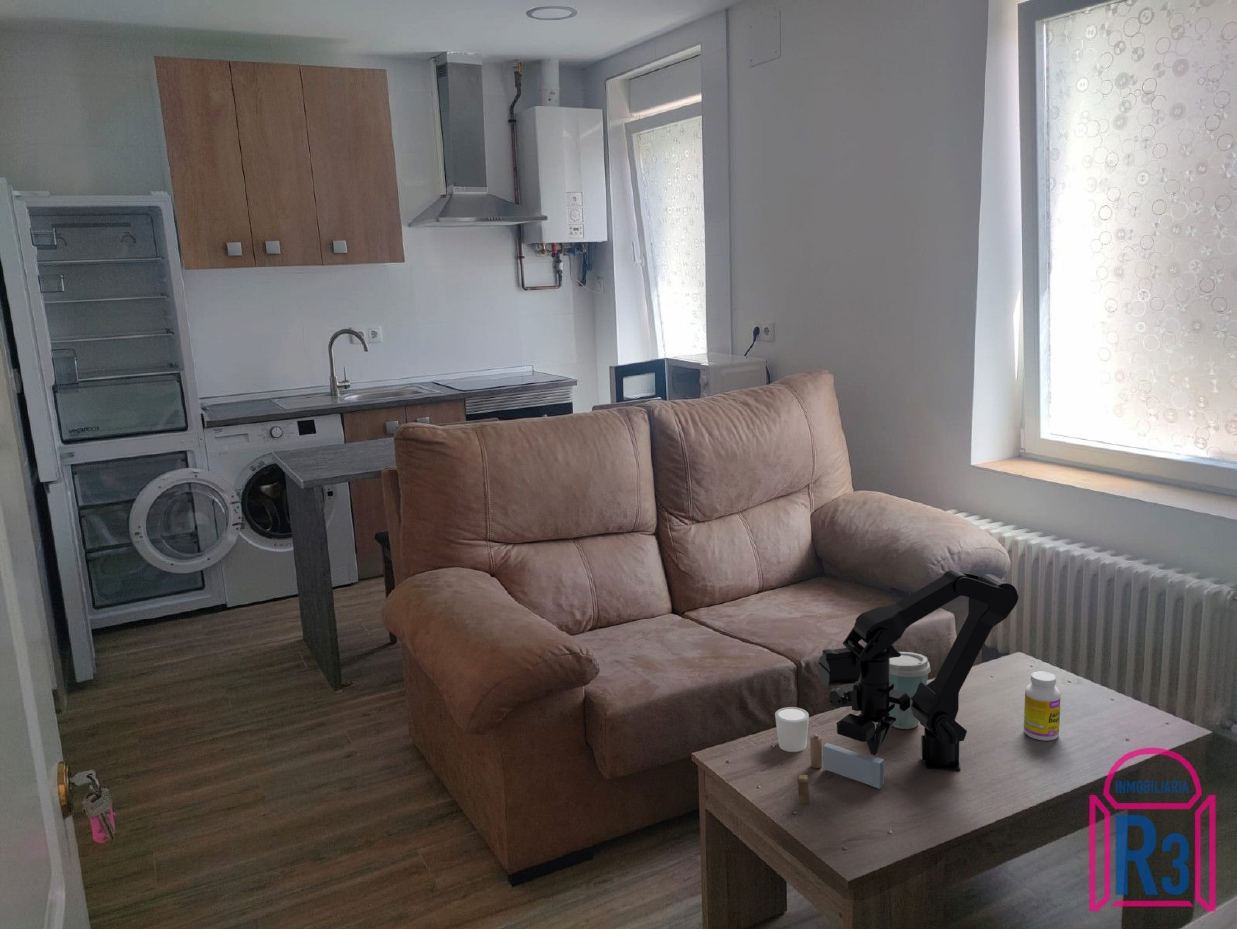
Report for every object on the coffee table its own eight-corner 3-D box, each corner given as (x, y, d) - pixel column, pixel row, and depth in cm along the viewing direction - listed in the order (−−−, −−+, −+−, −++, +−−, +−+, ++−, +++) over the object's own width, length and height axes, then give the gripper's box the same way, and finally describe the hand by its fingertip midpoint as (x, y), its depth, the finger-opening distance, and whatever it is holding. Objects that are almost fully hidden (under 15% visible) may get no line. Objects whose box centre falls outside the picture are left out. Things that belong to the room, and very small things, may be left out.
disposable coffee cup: (867, 719, 201) (867, 654, 198) (903, 706, 206) (903, 643, 203) (904, 739, 192) (904, 671, 189) (941, 725, 197) (941, 658, 194)
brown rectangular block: (808, 799, 172) (808, 774, 171) (808, 804, 170) (808, 779, 169) (799, 798, 172) (798, 774, 171) (798, 804, 170) (798, 779, 169)
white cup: (809, 754, 188) (808, 722, 186) (775, 752, 189) (774, 721, 188) (809, 738, 194) (808, 707, 193) (776, 736, 196) (775, 705, 194)
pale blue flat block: (808, 765, 183) (808, 735, 182) (814, 761, 184) (814, 731, 183) (878, 790, 173) (878, 759, 171) (884, 785, 174) (884, 754, 173)
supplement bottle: (1050, 745, 186) (1052, 685, 184) (1017, 734, 191) (1019, 676, 188) (1064, 733, 190) (1067, 675, 188) (1032, 723, 195) (1034, 666, 193)
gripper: (859, 653, 188) (860, 724, 191) (811, 685, 175) (812, 761, 178) (911, 666, 181) (911, 740, 184) (864, 700, 167) (865, 779, 170)
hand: (874, 754), depth 179 cm, fingers closed
